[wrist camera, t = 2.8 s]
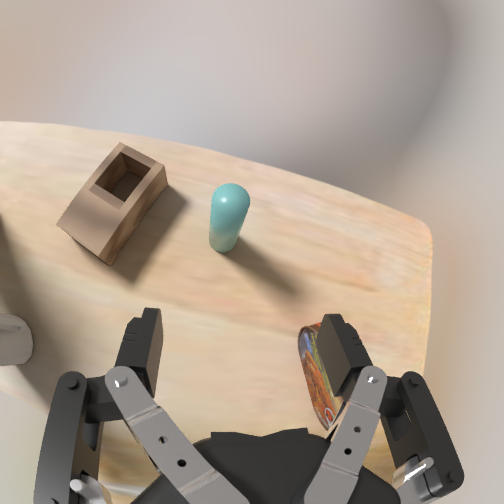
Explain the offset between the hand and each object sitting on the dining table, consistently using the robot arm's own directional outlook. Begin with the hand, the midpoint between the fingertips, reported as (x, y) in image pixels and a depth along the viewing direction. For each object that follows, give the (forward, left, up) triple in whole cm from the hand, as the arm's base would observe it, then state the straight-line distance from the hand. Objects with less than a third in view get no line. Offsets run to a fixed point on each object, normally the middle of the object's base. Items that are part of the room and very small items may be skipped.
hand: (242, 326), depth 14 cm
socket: (+6, +20, -23) cm, 31 cm away
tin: (0, -15, -23) cm, 27 cm away
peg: (+10, +5, -23) cm, 25 cm away
